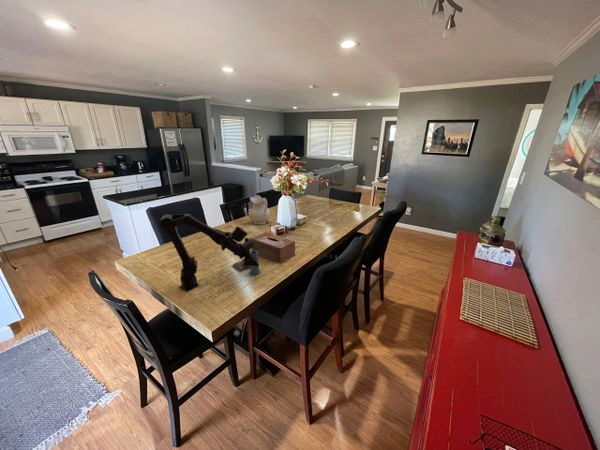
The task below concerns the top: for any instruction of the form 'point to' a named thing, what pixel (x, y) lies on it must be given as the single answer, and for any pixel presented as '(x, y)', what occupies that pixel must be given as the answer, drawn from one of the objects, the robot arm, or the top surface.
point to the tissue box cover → (274, 246)
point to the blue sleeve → (256, 261)
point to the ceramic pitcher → (259, 210)
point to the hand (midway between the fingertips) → (256, 261)
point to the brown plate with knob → (240, 266)
